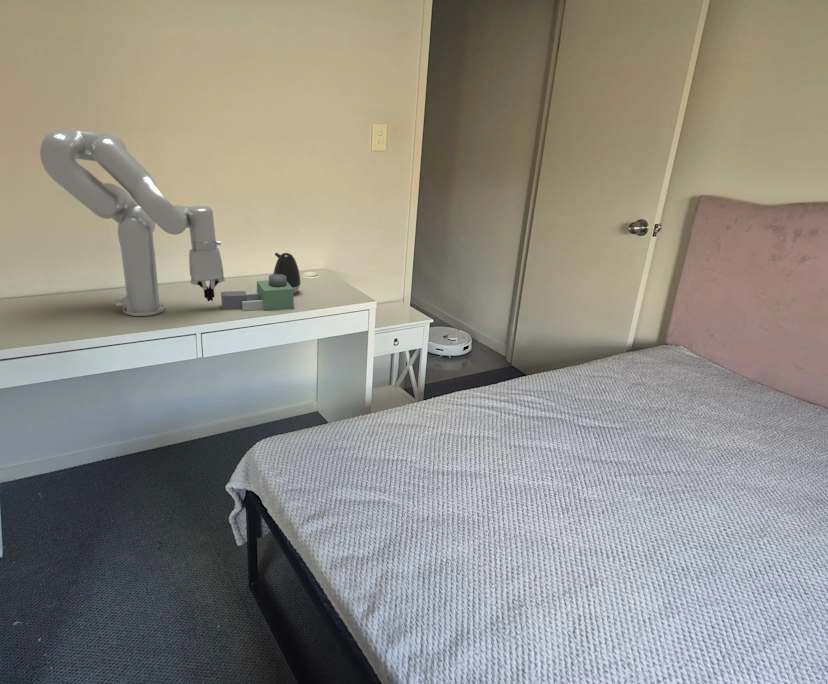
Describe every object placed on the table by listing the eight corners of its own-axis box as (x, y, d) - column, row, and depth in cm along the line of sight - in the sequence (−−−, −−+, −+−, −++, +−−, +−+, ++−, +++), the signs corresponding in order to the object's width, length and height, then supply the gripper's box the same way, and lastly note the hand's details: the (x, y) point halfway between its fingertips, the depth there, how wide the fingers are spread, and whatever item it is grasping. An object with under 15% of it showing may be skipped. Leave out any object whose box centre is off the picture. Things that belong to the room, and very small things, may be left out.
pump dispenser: (285, 287, 228) (285, 248, 223) (306, 292, 223) (306, 253, 218) (266, 292, 220) (265, 252, 214) (287, 298, 215) (287, 257, 210)
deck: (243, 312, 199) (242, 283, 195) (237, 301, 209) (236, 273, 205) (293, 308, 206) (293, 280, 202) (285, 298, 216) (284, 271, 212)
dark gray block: (222, 310, 199) (221, 296, 198) (221, 305, 204) (220, 291, 202) (247, 309, 202) (246, 295, 200) (245, 304, 206) (245, 290, 205)
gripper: (225, 241, 197) (230, 294, 204) (178, 244, 191) (184, 298, 198) (229, 246, 191) (234, 300, 198) (180, 250, 185) (187, 305, 192)
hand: (209, 299), depth 198 cm, fingers closed
